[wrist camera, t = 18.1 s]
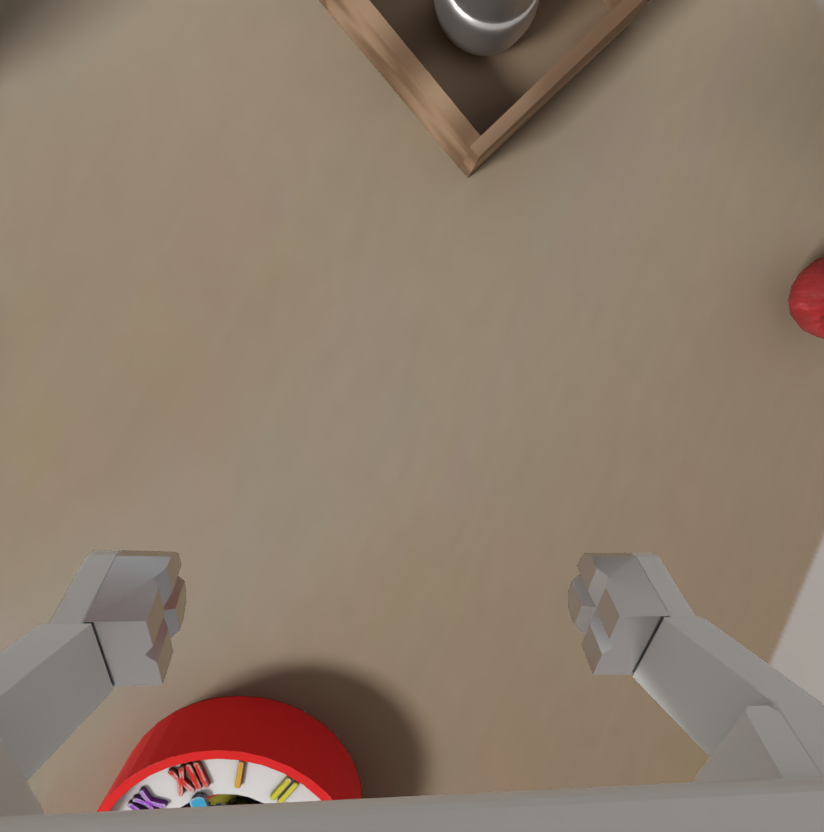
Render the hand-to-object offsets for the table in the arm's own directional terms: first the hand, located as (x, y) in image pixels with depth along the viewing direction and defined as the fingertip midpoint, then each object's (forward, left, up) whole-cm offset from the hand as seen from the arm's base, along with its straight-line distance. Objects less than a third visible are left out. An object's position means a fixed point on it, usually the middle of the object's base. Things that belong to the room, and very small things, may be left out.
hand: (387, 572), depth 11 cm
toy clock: (+17, -33, -30) cm, 47 cm away
